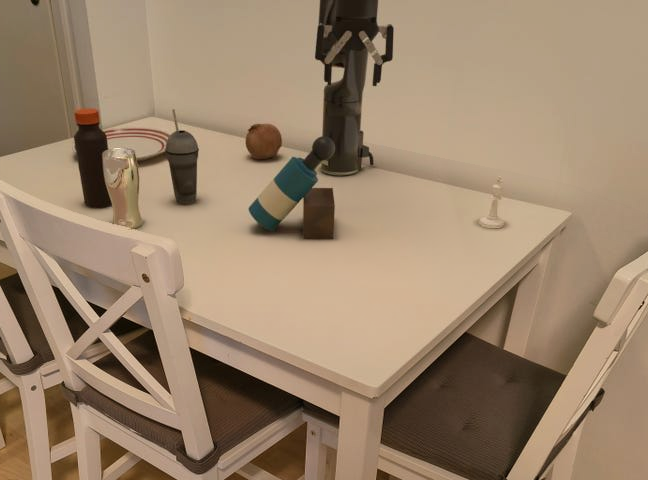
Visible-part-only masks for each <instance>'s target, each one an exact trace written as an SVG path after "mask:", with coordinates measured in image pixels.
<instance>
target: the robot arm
mask: <svg viewBox="0 0 648 480" xmlns="http://www.w3.org/2000/svg"><path fill="white" fill-rule="evenodd" d="M378 10H379V0H319V11H318V23H317V30H316V39H315V40H316V41H315V51H314V59H315V60H316V61H320V63H321V64H322V65H324V67H323V68H324V70H323V81H324V83H326V84H325V86H324V88H323V102H322V130H321V131H322V132H321V133H322V135H321V137H322V136H326V137H329V138H330V139H332V141H333V142H334V144H335V152H334V154H333V156H332V157H331V158H329V159H327V160H322V162H321V163H320V171H321V172H322V173H324V174H326V175H330V176H339V177H340V176H341V177H342V176H344V177H345V176H350V175H354V174H357V173H358V172H360V171H362V163H363V158H369V165H370V166H374V165H375V163H374V156H373V154H372V152H370V147H369V146H367V145H364V131H363V130H361V129H362V128H361V125H362V109H363V96H364V89H365V86H366V79H367V70H368V60H369V54H370V56H371V57H372V59H373V60H374V63H373V72H372V87H377V86H378V84H380V82H381V80H382V69H383V65H384V64H385V63H388V62H391V61H393V57H394V34H395V33H394V31H395V30H394V26H393V25H392V23H389V24H387V25H378ZM379 33H380V34H381V37H382V38H383V39H384V40H385V52H384V54H380V53H379V51H378V49H377V47H376V46H375V44H374V43H373V41H374V39H375V38H376V37H377V35H378V34H379ZM333 68H338V69H343V76H342V78H341V79H339V80H337V81H334V82H332V75H333Z"/></svg>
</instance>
